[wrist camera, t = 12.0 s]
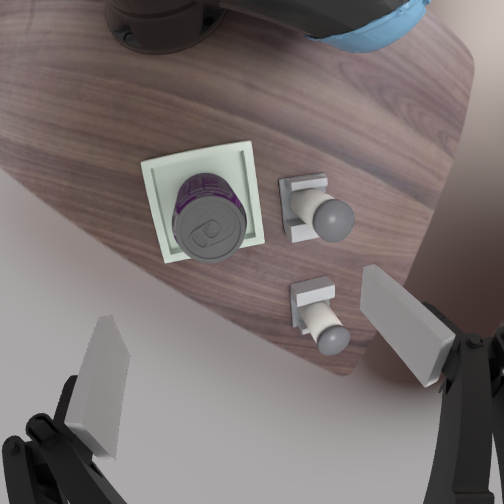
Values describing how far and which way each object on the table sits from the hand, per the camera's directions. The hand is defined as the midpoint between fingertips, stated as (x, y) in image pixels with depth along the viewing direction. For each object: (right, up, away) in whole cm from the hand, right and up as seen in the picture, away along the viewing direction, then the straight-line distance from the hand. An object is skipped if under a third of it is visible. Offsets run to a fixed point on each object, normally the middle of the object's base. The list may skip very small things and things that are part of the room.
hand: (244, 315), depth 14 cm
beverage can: (-5, +10, +22) cm, 25 cm away
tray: (-6, +10, +22) cm, 25 cm away
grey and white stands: (+8, +3, +29) cm, 30 cm away
